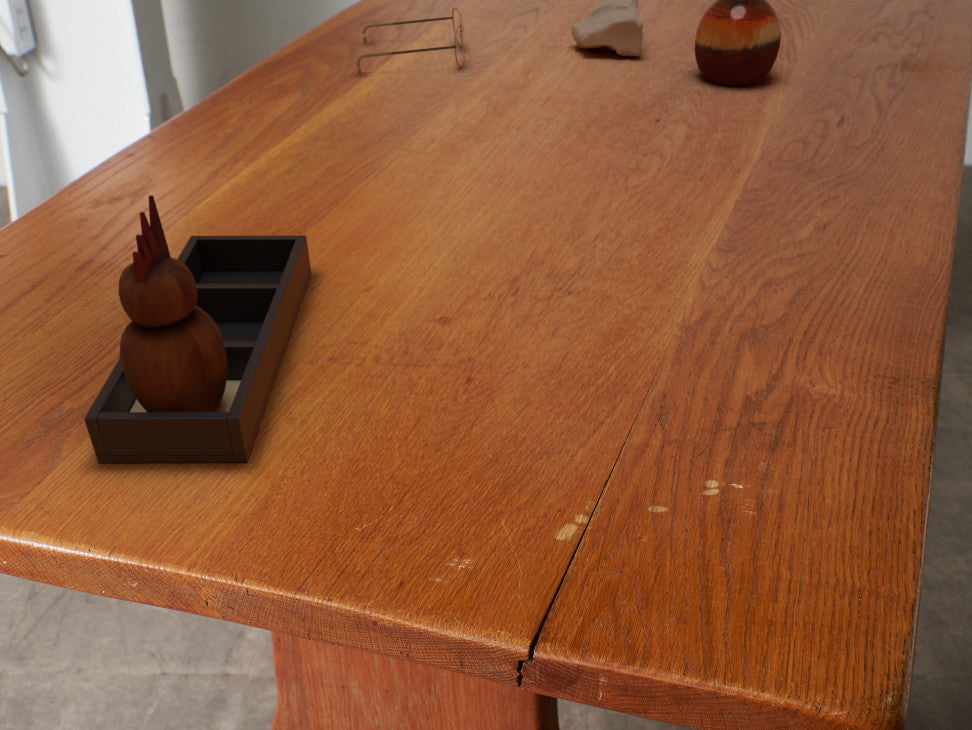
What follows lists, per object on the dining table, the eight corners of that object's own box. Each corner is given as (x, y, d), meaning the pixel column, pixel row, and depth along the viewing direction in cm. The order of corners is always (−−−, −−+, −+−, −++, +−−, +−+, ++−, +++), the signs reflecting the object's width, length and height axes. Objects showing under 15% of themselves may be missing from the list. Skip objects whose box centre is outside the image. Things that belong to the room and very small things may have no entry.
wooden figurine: (192, 378, 75) (145, 180, 65) (250, 400, 73) (210, 198, 63) (122, 422, 70) (60, 216, 61) (181, 447, 68) (128, 237, 59)
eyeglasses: (466, 71, 139) (465, 32, 135) (357, 73, 138) (353, 34, 135) (463, 40, 151) (462, 3, 148) (362, 42, 150) (359, 5, 147)
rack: (97, 463, 68) (83, 418, 66) (199, 273, 90) (190, 235, 88) (247, 462, 68) (238, 418, 66) (311, 273, 90) (306, 235, 88)
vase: (756, 95, 130) (776, -39, 120) (677, 82, 135) (690, -49, 125) (786, 73, 137) (806, -55, 128) (710, 62, 142) (724, -63, 132)
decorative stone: (561, 32, 148) (603, -31, 144) (607, 70, 152) (649, 10, 149) (578, 45, 139) (623, -22, 136) (627, 84, 143) (672, 21, 140)
